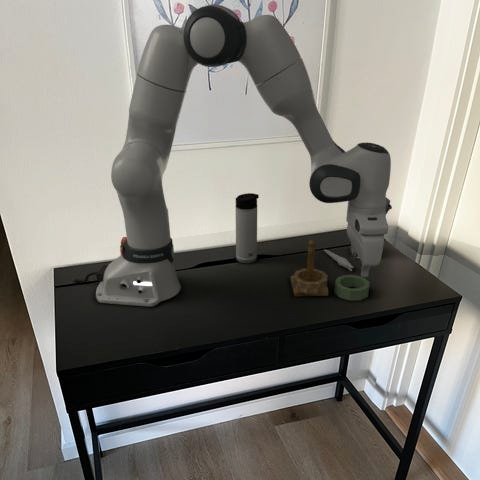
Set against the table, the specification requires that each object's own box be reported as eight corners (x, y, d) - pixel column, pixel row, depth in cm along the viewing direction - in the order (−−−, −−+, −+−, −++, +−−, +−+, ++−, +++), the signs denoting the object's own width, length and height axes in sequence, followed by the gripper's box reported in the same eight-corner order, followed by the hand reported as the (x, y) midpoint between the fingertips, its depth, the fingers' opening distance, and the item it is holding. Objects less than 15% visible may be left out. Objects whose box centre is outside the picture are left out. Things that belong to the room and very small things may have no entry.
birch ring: (294, 294, 134) (294, 283, 133) (291, 278, 142) (291, 268, 140) (329, 293, 134) (330, 283, 133) (324, 278, 142) (325, 268, 140)
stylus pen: (356, 270, 149) (357, 264, 148) (348, 272, 148) (349, 266, 147) (327, 251, 160) (328, 245, 159) (320, 252, 159) (320, 247, 158)
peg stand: (294, 296, 136) (297, 248, 129) (290, 280, 144) (292, 234, 137) (328, 295, 137) (332, 247, 129) (322, 279, 144) (326, 233, 137)
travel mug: (256, 264, 153) (256, 198, 142) (234, 262, 154) (233, 197, 143) (259, 255, 158) (260, 191, 147) (238, 254, 159) (237, 190, 149)
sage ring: (337, 300, 134) (338, 290, 133) (331, 285, 142) (332, 275, 140) (372, 300, 134) (374, 290, 133) (364, 284, 142) (365, 274, 140)
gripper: (343, 200, 131) (339, 250, 139) (362, 231, 114) (356, 286, 121) (368, 199, 131) (362, 249, 139) (390, 230, 114) (382, 285, 121)
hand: (359, 267), depth 130 cm, fingers open, 8 cm apart
